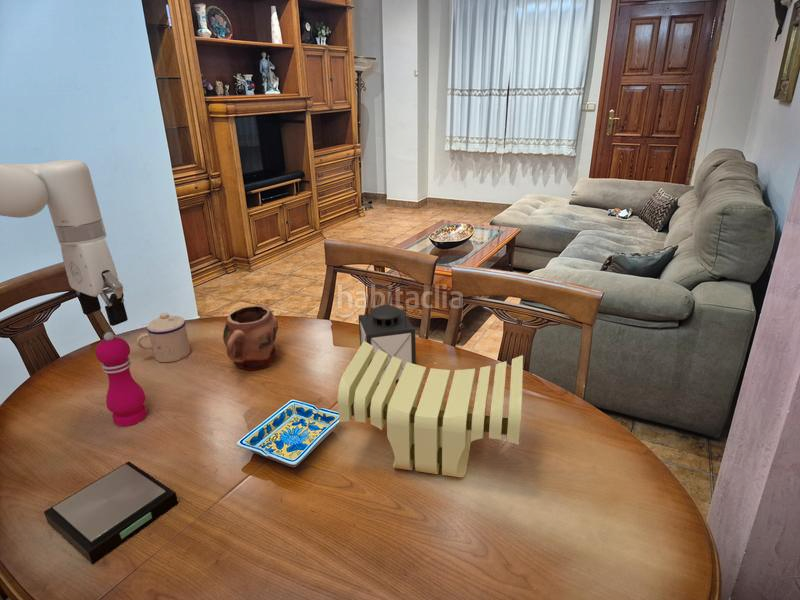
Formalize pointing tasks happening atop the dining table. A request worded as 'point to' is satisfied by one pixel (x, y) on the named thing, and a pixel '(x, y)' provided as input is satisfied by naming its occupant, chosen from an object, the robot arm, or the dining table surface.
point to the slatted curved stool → (429, 409)
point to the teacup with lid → (167, 338)
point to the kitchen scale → (110, 510)
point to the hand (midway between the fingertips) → (105, 317)
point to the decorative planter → (251, 337)
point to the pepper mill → (121, 382)
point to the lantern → (389, 332)
